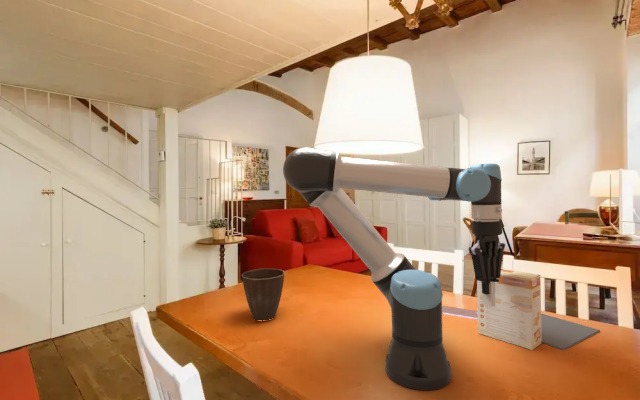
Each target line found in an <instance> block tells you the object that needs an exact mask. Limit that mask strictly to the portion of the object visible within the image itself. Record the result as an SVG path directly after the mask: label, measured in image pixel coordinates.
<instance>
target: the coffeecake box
mask: <svg viewBox="0 0 640 400" xmlns="http://www.w3.org/2000/svg"><path fill="white" fill-rule="evenodd" d="M497 279H498V280H499V282H495V306H493V307H490V306H487V305H484V304H483V296H482V282H481V281H478V280H476V289H477V290H476V291H477V292H476V293H477V294H476V295H477V311H478V320H477V333H478V334H480V335H483V336H486V337H490V338H492V339H495V340H499V341H503V342H505V343H508V344H512V345H514V346H518V347H520V348H524V349H528V350H531V351H533V350H535V349H536V348H537V347H539V346H540V345H541V344H543V343H542V342H541V340H542V339H541V314H542V291H541V288H542V287H541V274H539V273H531V272H524V271H518V270H511V269H505V268H501V274H500V278H497Z"/></svg>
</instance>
